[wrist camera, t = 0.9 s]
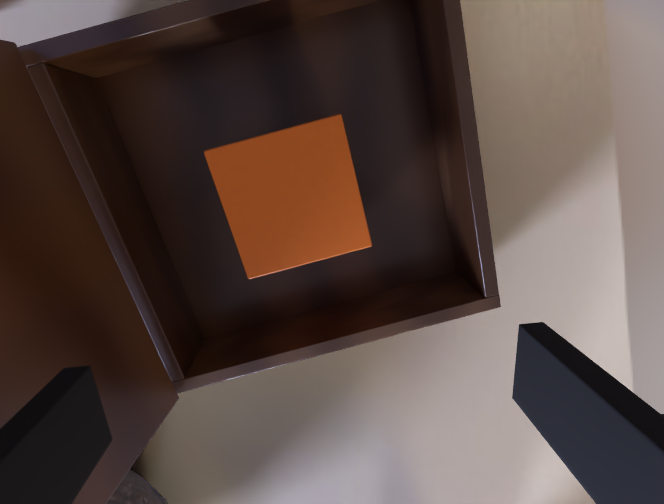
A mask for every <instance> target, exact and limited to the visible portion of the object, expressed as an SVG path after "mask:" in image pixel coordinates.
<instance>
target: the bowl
mask: <svg viewBox="0 0 664 504" xmlns="http://www.w3.org/2000/svg"><path fill="white" fill-rule="evenodd" d="M106 504H168V503H167V501H166V499H165V498H164V497H163V496H162V495H161V494H160V493H159V492H158V491H157V490H156V489H155V488H154V487H152V486H151V485H150V484H149V483H148V482H147V481H146V480H145V479H144V478H142V477H141V476H140V475H138V474H137V473H135V472H133V471H132V470H131V469H129V471H128V472H127V474H126V475H125V477H124V478H123V480H122V481H121V482H120V484H119V485H118V487H117V488H116V490H115V491H114V493H113V494H112V495H111V497H110V498H109V500H108V501H107V503H106Z"/></svg>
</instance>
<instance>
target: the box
mask: <svg viewBox="0 0 664 504" xmlns="http://www.w3.org/2000/svg"><path fill="white" fill-rule="evenodd" d="M17 48H18V50H19V52H20V54H21V56H22V59H23V61H24V63H25V65H26V67H27V69H28V72H29V74H30V76H31V78H32V80H33V82H34V85H35V87H36V89H37V91H38V93H39V95H40V98H41V100H42V102H43V104H44V106H45V108H46V111H47V113H48V115H49V117H50V119H51V121H52V124H53V126H54V128H55V130H56V132H57V134H58V136H59V139H60V141H61V143H62V145H63V147H64V149H65V152H66V154H67V156H68V158H69V160H70V162H71V165H72V167H73V169H74V171H75V173H76V175H77V178H78V180H79V182H80V184H81V186H82V188H83V191H84V193H85V195H86V197H87V199H88V201H89V204H90V206H91V208H92V210H93V212H94V214H95V217H96V219H97V221H98V223H99V225H100V227H101V230H102V232H103V234H104V236H105V238H106V240H107V243H108V245H109V247H110V249H111V251H112V253H113V256H114V258H115V260H116V262H117V264H118V266H119V269H120V271H121V273H122V275H123V277H124V279H125V282H126V284H127V286H128V288H129V290H130V292H131V295H132V297H133V299H134V301H135V303H136V305H137V308H138V310H139V312H140V314H141V316H142V318H143V321H144V323H145V325H146V327H147V329H148V331H149V334H150V336H151V338H152V340H153V342H154V344H155V347H156V349H157V351H158V353H159V355H160V357H161V359H162V362H163V364H164V366H165V368H166V370H167V372H168V375H169V377H170V379H171V381H172V383H173V385H174V388H175V390H176V392H177V393H181V392H184V391H188V390H192V389H196V388H199V387H203V386H207V385H211V384H214V383H218V382H222V381H226V380H229V379H233V378H237V377H241V376H244V375H248V374H252V373H255V372H259V371H263V370H267V369H270V368H274V367H278V366H282V365H285V364H289V363H293V362H297V361H300V360H304V359H308V358H311V357H315V356H319V355H323V354H326V353H330V352H334V351H338V350H341V349H345V348H349V347H353V346H356V345H360V344H364V343H368V342H371V341H375V340H379V339H382V338H386V337H390V336H394V335H397V334H401V333H405V332H409V331H412V330H416V329H420V328H424V327H427V326H431V325H435V324H438V323H442V322H446V321H450V320H453V319H457V318H461V317H465V316H468V315H472V314H476V313H480V312H483V311H487V310H491V309H494V308H498V307H501V306H500V298H499V292H498V285H497V277H496V270H495V262H494V255H493V247H492V239H491V232H490V224H489V217H488V209H487V202H486V194H485V186H484V179H483V171H482V164H481V156H480V149H479V141H478V133H477V126H476V118H475V111H474V103H473V96H472V88H471V80H470V73H469V65H468V58H467V50H466V43H465V35H464V27H463V20H462V12H461V5H460V0H188V1H184V2H181V3H177V4H173V5H170V6H166V7H162V8H159V9H155V10H152V11H148V12H144V13H141V14H137V15H133V16H130V17H126V18H122V19H119V20H115V21H111V22H108V23H104V24H101V25H97V26H93V27H90V28H86V29H82V30H79V31H75V32H71V33H68V34H64V35H60V36H57V37H53V38H49V39H46V40H42V41H39V42H35V43H31V44H28V45H24V46H20V47H17ZM338 114H341V115H342V119H343V123H344V127H345V132H346V136H347V140H348V144H349V149H350V153H351V157H352V161H353V166H354V170H355V174H356V178H357V183H358V187H359V191H360V195H361V200H362V204H363V208H364V212H365V217H366V221H367V225H368V229H369V234H370V238H371V242H372V246H371V247H368V248H364V249H360V250H356V251H353V252H349V253H345V254H342V255H338V256H334V257H330V258H327V259H323V260H319V261H316V262H312V263H308V264H304V265H301V266H297V267H293V268H290V269H286V270H282V271H278V272H275V273H271V274H267V275H264V276H260V277H256V278H252V279H248V277H247V274H246V271H245V268H244V265H243V263H242V260H241V257H240V254H239V251H238V248H237V246H236V243H235V240H234V237H233V234H232V231H231V229H230V226H229V223H228V220H227V217H226V214H225V212H224V209H223V206H222V203H221V200H220V197H219V194H218V192H217V189H216V186H215V183H214V180H213V177H212V175H211V172H210V169H209V166H208V163H207V160H206V158H205V155H204V151H205V150H209V149H212V148H216V147H220V146H223V145H227V144H231V143H234V142H238V141H242V140H246V139H249V138H253V137H257V136H260V135H264V134H268V133H271V132H275V131H279V130H282V129H286V128H290V127H293V126H297V125H301V124H304V123H308V122H312V121H315V120H319V119H323V118H326V117H330V116H334V115H338Z"/></svg>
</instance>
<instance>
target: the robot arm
mask: <svg viewBox="0 0 664 504" xmlns="http://www.w3.org/2000/svg"><path fill="white" fill-rule="evenodd" d="M512 398H513V399H514V401H515V402H516V403H517V404H518V406H519V407H520V408H521V409H522V411H523V412H524V413H525V414H526V416H527V417H528V418H529V419H530V421H531V422H532V423H533V425H534V426H535V427H536V428H537V430H538V431H539V432H540V433H541V435H542V436H543V437H544V438H545V440H546V441H547V442H548V443H549V445H550V446H551V447H552V449H553V450H554V451H555V452H556V454H557V455H558V456H559V457H560V459H561V460H562V461H563V462H564V464H565V465H566V466H567V467H568V469H569V470H570V471H571V473H572V474H573V475H574V476H575V478H576V479H577V480H578V481H579V483H580V484H581V485H582V486H583V488H584V489H585V490H586V491H587V493H588V494H589V495H590V497H591V498H592V499H593V500H594V502H595V503H596V504H664V414H660V413H658V412H657V411H656V410H655V409H653V408H652V407H651V406H650V405H648V404H647V403H646V402H644V401H643V400H642V399H641V398H639V397H638V396H637V395H635V394H634V393H633V392H632V391H630V390H629V389H628V388H626V387H625V386H624V385H623V384H621V383H620V382H619V381H618V380H616V379H615V378H614V377H612V376H611V375H610V374H609V373H607V372H606V371H605V370H603V369H602V368H601V367H600V366H598V365H597V364H596V363H595V362H593V361H592V360H591V359H589V358H588V357H587V356H586V355H584V354H583V353H582V352H580V351H579V350H578V349H577V348H575V347H574V346H573V345H571V344H570V343H569V342H568V341H566V340H565V339H564V338H563V337H561V336H560V335H559V334H557V333H556V332H555V331H554V330H552V329H551V328H550V327H548V326H547V325H546V324H545V323H543V322H539V323H529V324H519V332H518V343H517V353H516V364H515V375H514V386H513V396H512ZM112 440H113V439H112V435H111V432H110V429H109V426H108V422H107V419H106V416H105V412H104V409H103V406H102V402H101V399H100V396H99V393H98V389H97V386H96V383H95V379H94V376H93V373H92V369H91V366H90V365H89V366H79V367H68V368H63V369H62V370H61V371H60V372H59V373H58V374H57V375H56V376H55V377H54V378H53V379H52V380H51V381H50V382H49V383H48V384H47V385H45V386H44V387H43V388H42V389H41V390H40V391H39V392H38V393H37V394H36V395H35V396H34V397H33V398H32V399H31V400H30V401H29V402H28V403H27V404H26V405H25V406H24V407H22V408H21V409H20V410H19V411H18V412H17V413H16V414H15V415H14V416H13V417H12V418H11V419H10V420H9V421H8V422H7V423H6V424H5V425H4V426H3V427H2V428H1V429H0V504H72V503H73V501H74V500H75V498H76V497H77V495H78V493H79V492H80V490H81V489H82V487H83V486H84V484H85V482H86V481H87V479H88V478H89V476H90V475H91V473H92V471H93V470H94V468H95V467H96V465H97V464H98V462H99V460H100V459H101V457H102V456H103V454H104V453H105V451H106V449H107V448H108V446H109V445H110V443H111V442H112Z"/></svg>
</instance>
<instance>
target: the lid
mask: <svg viewBox="0 0 664 504" xmlns="http://www.w3.org/2000/svg"><path fill="white" fill-rule="evenodd" d="M89 365H90V366H91V369H92V373H93V376H94V379H95V383H96V386H97V389H98V393H99V396H100V399H101V402H102V406H103V409H104V412H105V416H106V419H107V422H108V426H109V429H110V432H111V435H112V439H113V440H112V442H111V443H110V445H109V446H108V448H107V449H106V451H105V453H104V454H103V456H102V457H101V459H100V460H99V462H98V464H97V465H96V467H95V468H94V470H93V471H92V473H91V475H90V476H89V478H88V479H87V481H86V482H85V484H84V486H83V487H82V489H81V490H80V492H79V493H78V495H77V497H76V498H75V500H74V501H73V503H72V504H106V503H107V501H108V500H109V498H110V497H111V495H112V494H113V493H114V491H115V490H116V488H117V487H118V485H119V484H120V482H121V481H122V480H123V478H124V477H125V475H126V474H127V472H128V471H129V469H130V468H131V467H132V465H133V464H134V462H135V461H136V459H137V458H138V456H139V455H140V454H141V452H142V451H143V449H144V448H145V446H146V445H147V443H148V442H149V441H150V439H151V438H152V436H153V435H154V433H155V432H156V430H157V429H158V428H159V426H160V425H161V423H162V422H163V420H164V419H165V417H166V416H167V415H168V413H169V412H170V410H171V409H172V407H173V406H174V404H175V403H176V402H177V400H178V399H179V396H178V394H177V392H176V390H175V388H174V385H173V383H172V381H171V379H170V377H169V375H168V372H167V370H166V368H165V366H164V364H163V362H162V359H161V357H160V355H159V353H158V351H157V349H156V347H155V344H154V342H153V340H152V338H151V336H150V334H149V331H148V329H147V327H146V325H145V323H144V321H143V318H142V316H141V314H140V312H139V310H138V308H137V305H136V303H135V301H134V299H133V297H132V295H131V292H130V290H129V288H128V286H127V284H126V282H125V279H124V277H123V275H122V273H121V271H120V269H119V266H118V264H117V262H116V260H115V258H114V256H113V253H112V251H111V249H110V247H109V245H108V243H107V240H106V238H105V236H104V234H103V232H102V230H101V227H100V225H99V223H98V221H97V219H96V217H95V214H94V212H93V210H92V208H91V206H90V204H89V201H88V199H87V197H86V195H85V193H84V191H83V188H82V186H81V184H80V182H79V180H78V178H77V175H76V173H75V171H74V169H73V167H72V165H71V162H70V160H69V158H68V156H67V154H66V152H65V149H64V147H63V145H62V143H61V141H60V139H59V136H58V134H57V132H56V130H55V128H54V126H53V124H52V121H51V119H50V117H49V115H48V113H47V111H46V108H45V106H44V104H43V102H42V100H41V98H40V95H39V93H38V91H37V89H36V87H35V85H34V82H33V80H32V78H31V76H30V74H29V72H28V69H27V67H26V65H25V63H24V61H23V59H22V56H21V54H20V52H19V50H18V48H17V46H16V44H15V43H13V42H8V41H4V40H0V429H1V428H2V427H3V426H4V425H5V424H6V423H7V422H8V421H9V420H10V419H11V418H12V417H13V416H14V415H15V414H16V413H17V412H18V411H19V410H20V409H21V408H22V407H24V406H25V405H26V404H27V403H28V402H29V401H30V400H31V399H32V398H33V397H34V396H35V395H36V394H37V393H38V392H39V391H40V390H41V389H42V388H43V387H44V386H45V385H47V384H48V383H49V382H50V381H51V380H52V379H53V378H54V377H55V376H56V375H57V374H58V373H59V372H60V371H61V370H62V369H63V368H68V367H79V366H89Z"/></svg>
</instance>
